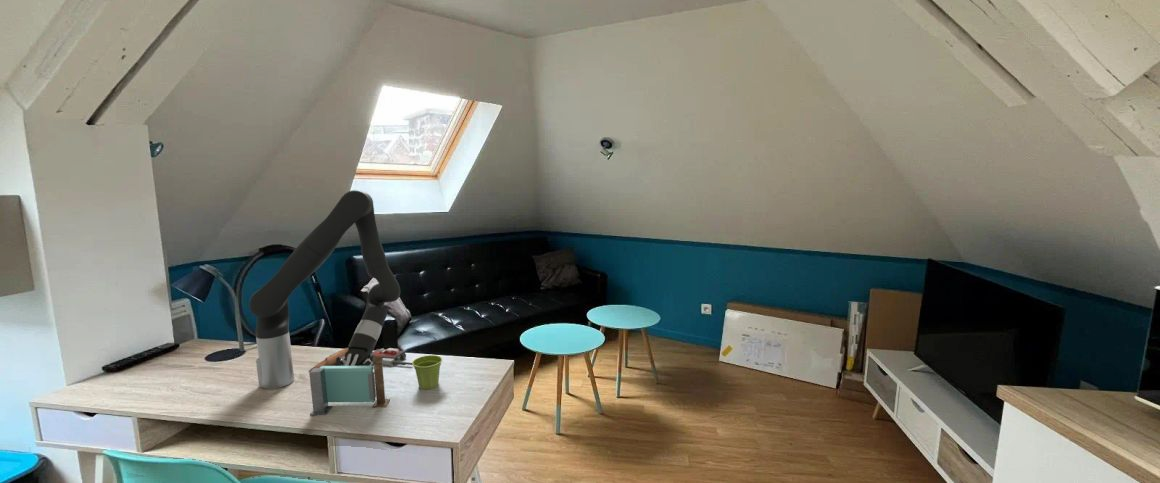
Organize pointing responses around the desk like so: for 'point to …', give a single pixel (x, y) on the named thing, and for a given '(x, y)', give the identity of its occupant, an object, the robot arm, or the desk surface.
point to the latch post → (319, 392)
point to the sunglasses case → (331, 359)
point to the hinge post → (379, 383)
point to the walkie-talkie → (390, 356)
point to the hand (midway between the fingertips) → (342, 389)
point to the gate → (350, 383)
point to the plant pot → (427, 371)
